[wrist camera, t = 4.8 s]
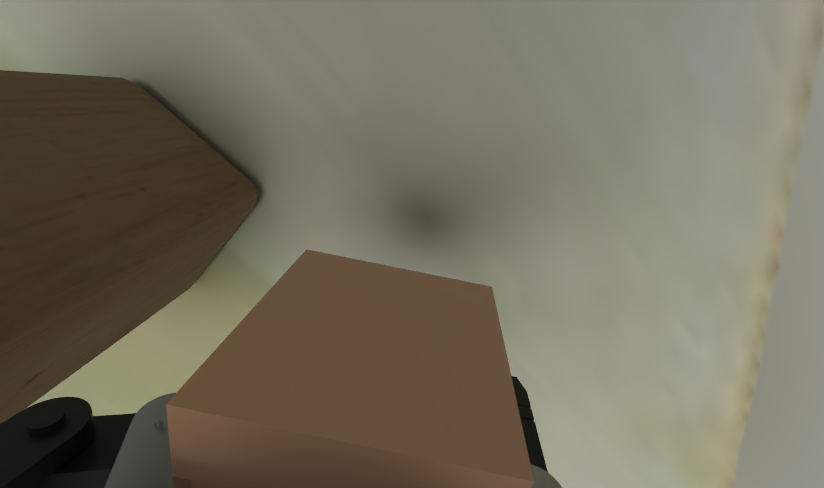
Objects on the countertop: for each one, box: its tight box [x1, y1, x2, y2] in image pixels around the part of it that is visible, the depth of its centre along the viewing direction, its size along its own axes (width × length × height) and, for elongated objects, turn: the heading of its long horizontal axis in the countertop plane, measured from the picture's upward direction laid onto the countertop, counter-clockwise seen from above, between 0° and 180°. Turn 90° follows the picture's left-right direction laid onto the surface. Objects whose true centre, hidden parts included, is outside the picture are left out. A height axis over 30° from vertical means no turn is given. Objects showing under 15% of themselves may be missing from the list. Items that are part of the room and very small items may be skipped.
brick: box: [166, 250, 534, 488], centre depth 9 cm, size 6×6×6 cm
